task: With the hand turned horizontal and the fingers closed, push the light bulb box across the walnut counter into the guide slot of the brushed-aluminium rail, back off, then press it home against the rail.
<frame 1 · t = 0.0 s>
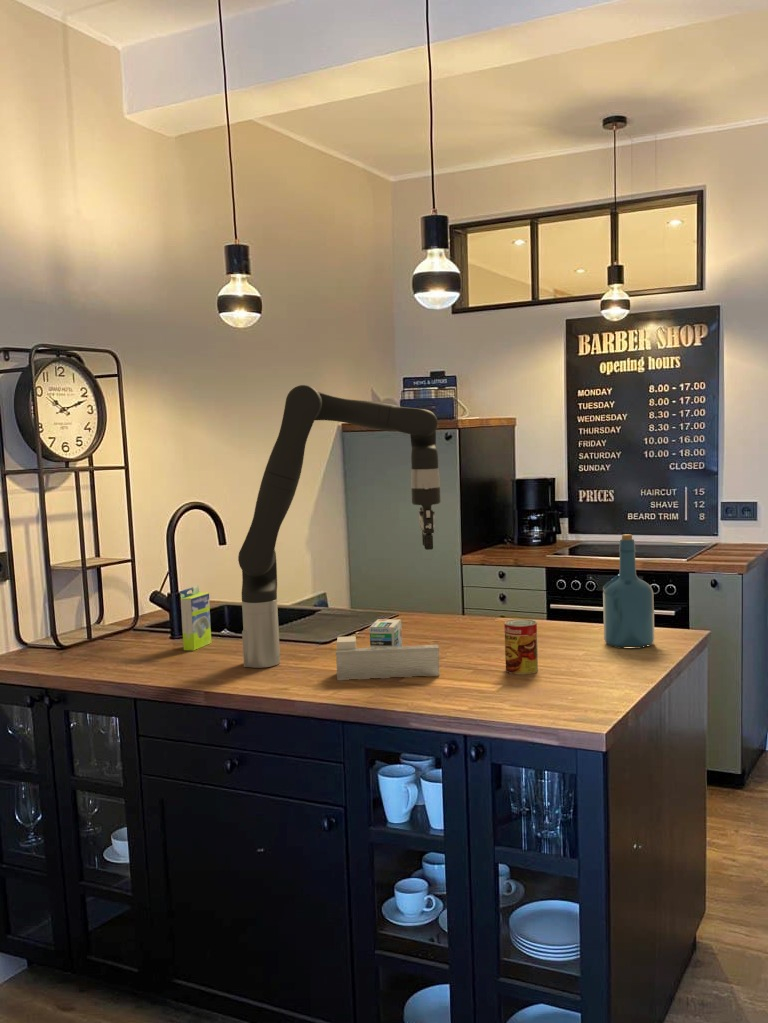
hand: (427, 547, 239), 29 cm above the counter, tool pointing down, fingers open, 8 cm apart
canned food: (521, 671, 224), on the counter
light bulb box: (387, 664, 236), on the counter
wine bottle: (628, 644, 247), on the counter
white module: (347, 674, 226), on the counter
rail: (388, 677, 222), on the counter
box: (197, 647, 265), on the counter
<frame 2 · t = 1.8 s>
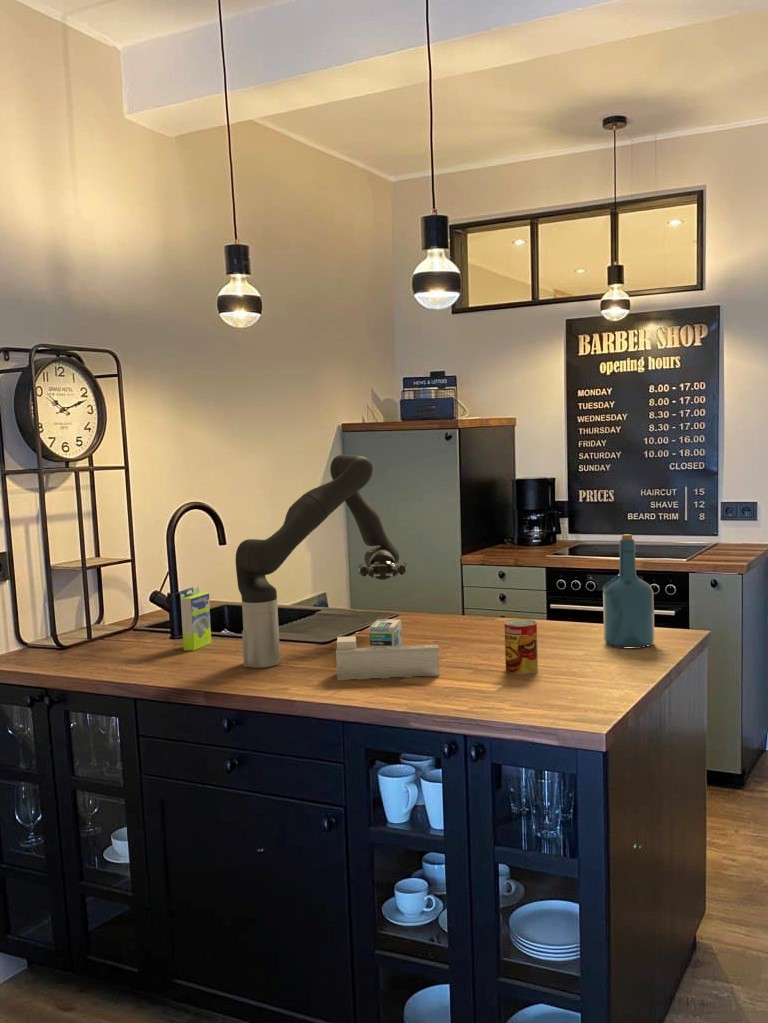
hand: (383, 573, 246), 22 cm above the counter, tool horizontal, fingers open, 5 cm apart
nothing on the counter moved.
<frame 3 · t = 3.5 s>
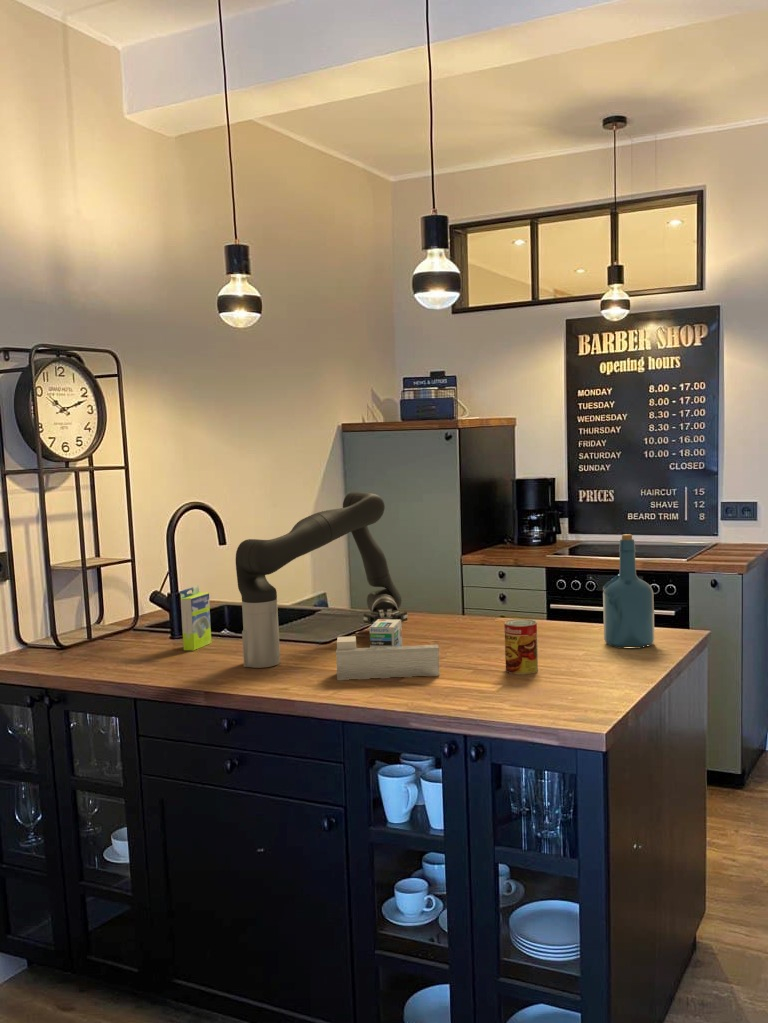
hand: (386, 623, 246), 8 cm above the counter, tool horizontal, fingers closed
nothing on the counter moved.
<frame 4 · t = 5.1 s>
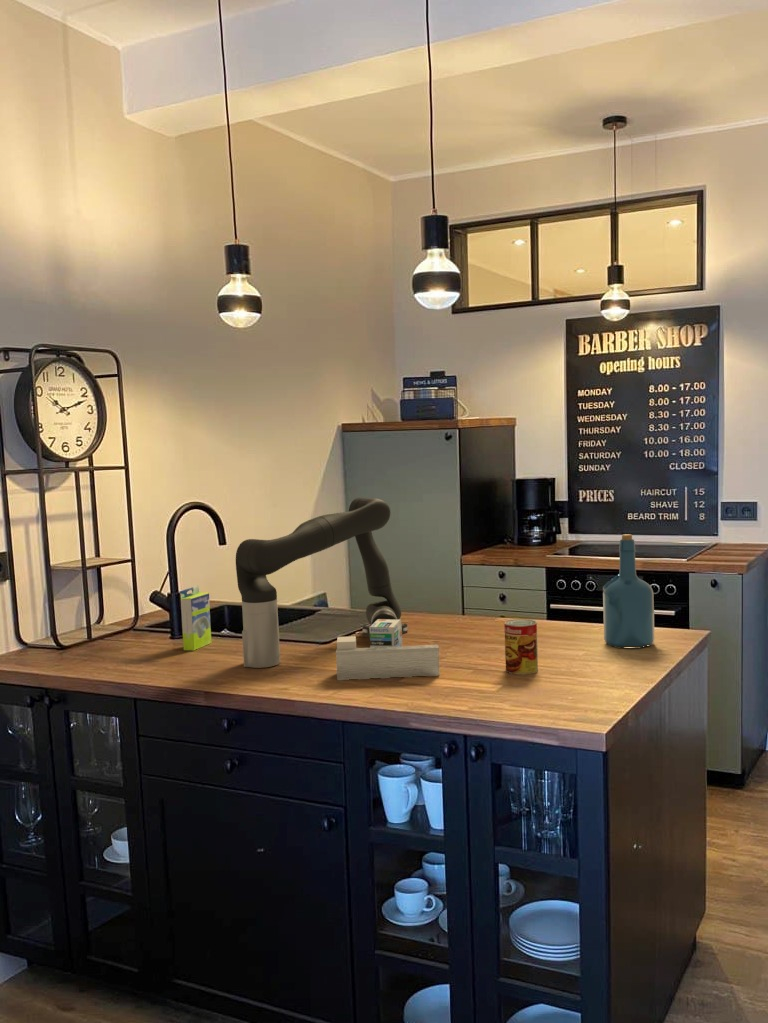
hand: (385, 636, 241), 6 cm above the counter, tool horizontal, fingers closed
light bulb box: (387, 664, 236), on the counter, touching gripper
everything else where it was.
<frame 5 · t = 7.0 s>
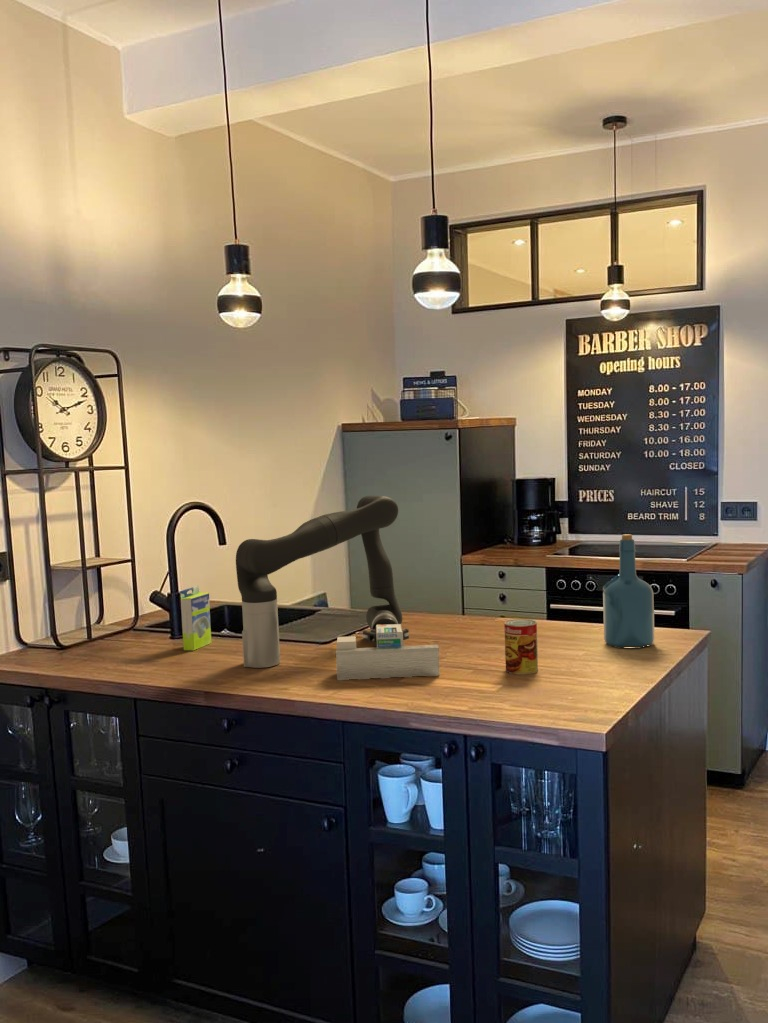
hand: (386, 641, 234), 6 cm above the counter, tool horizontal, fingers closed
light bulb box: (391, 670, 229), on the counter, touching gripper
everything else where it was.
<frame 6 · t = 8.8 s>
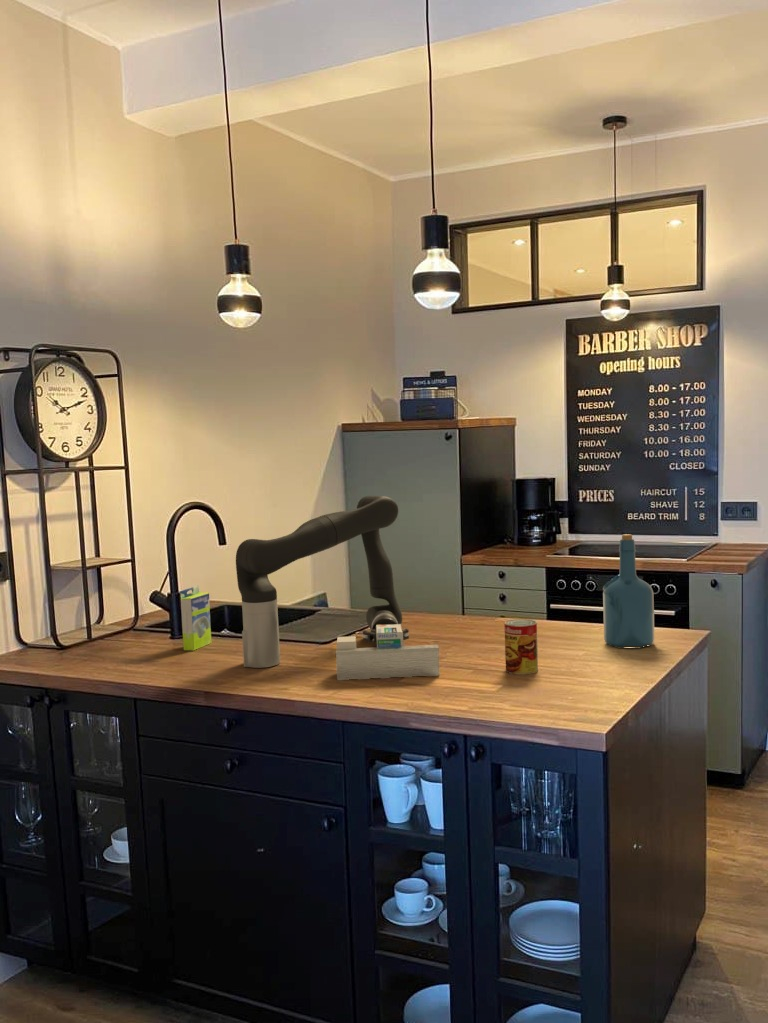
hand: (386, 641, 234), 6 cm above the counter, tool horizontal, fingers closed
nothing on the counter moved.
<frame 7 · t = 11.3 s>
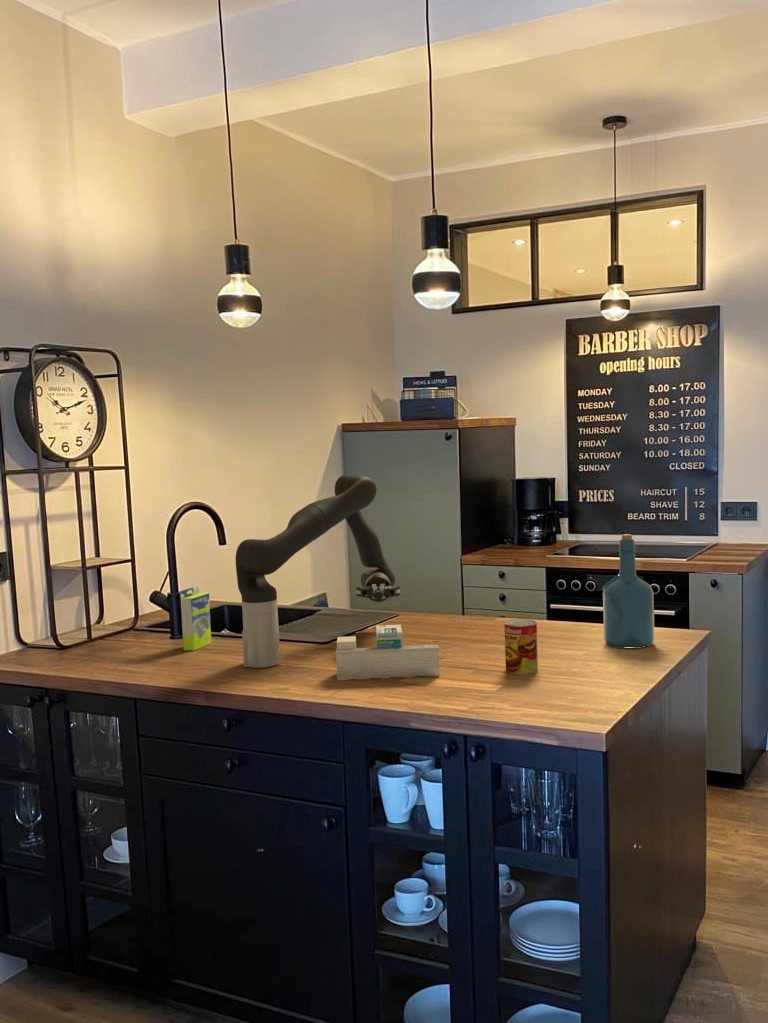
hand: (378, 595, 248), 16 cm above the counter, tool horizontal, fingers closed
light bulb box: (391, 671, 229), on the counter
everything else where it was.
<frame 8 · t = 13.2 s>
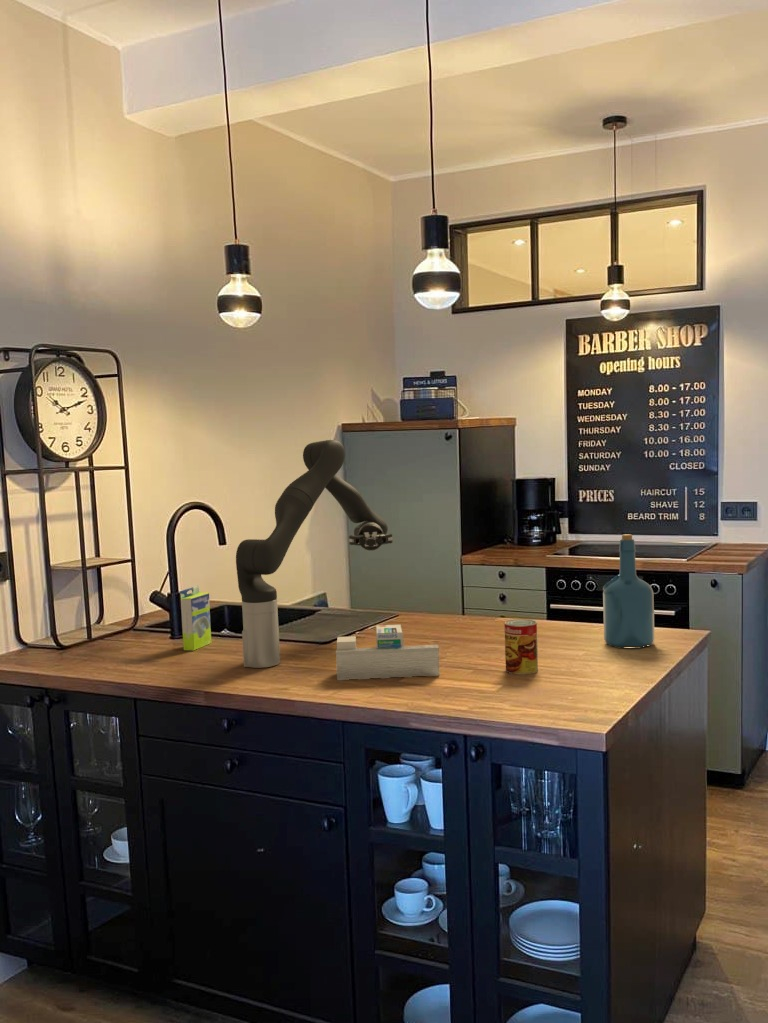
hand: (370, 542, 250), 30 cm above the counter, tool horizontal, fingers closed
nothing on the counter moved.
at the end: light bulb box inside the target area (0.8 cm from its centre), on the counter; light bulb box tilted 0°; light bulb box moved 7.4 cm from its start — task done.
